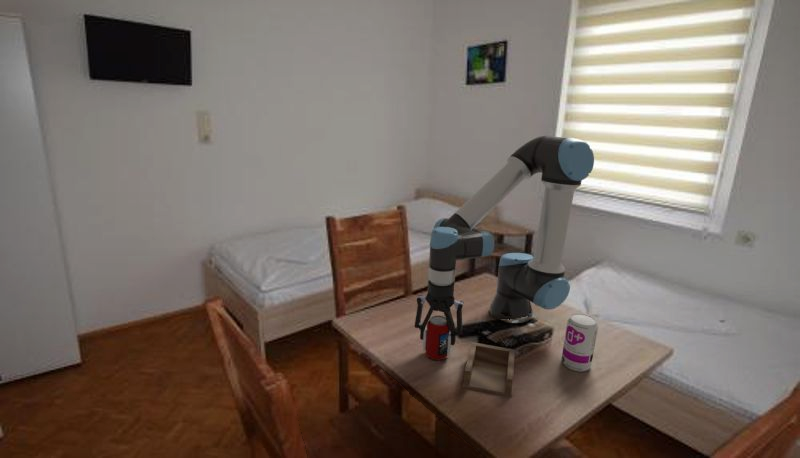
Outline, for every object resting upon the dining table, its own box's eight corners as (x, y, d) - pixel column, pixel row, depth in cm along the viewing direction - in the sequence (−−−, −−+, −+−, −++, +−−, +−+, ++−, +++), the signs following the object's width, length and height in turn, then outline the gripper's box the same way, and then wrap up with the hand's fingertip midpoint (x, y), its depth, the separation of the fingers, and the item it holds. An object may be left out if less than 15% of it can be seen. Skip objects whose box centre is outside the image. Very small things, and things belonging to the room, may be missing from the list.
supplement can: (577, 375, 123) (585, 328, 119) (555, 360, 130) (562, 315, 126) (596, 368, 126) (605, 322, 122) (574, 354, 133) (581, 310, 129)
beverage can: (446, 363, 127) (449, 326, 123) (424, 359, 128) (425, 323, 124) (448, 350, 133) (451, 316, 130) (427, 347, 134) (429, 313, 131)
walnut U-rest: (469, 357, 130) (470, 341, 129) (513, 365, 127) (515, 349, 125) (462, 386, 116) (463, 370, 115) (511, 397, 113) (513, 380, 111)
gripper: (477, 280, 124) (471, 350, 131) (411, 271, 130) (408, 339, 136) (474, 290, 117) (467, 364, 124) (404, 280, 123) (402, 351, 129)
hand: (436, 350), depth 130 cm, fingers closed on beverage can, 7 cm apart
